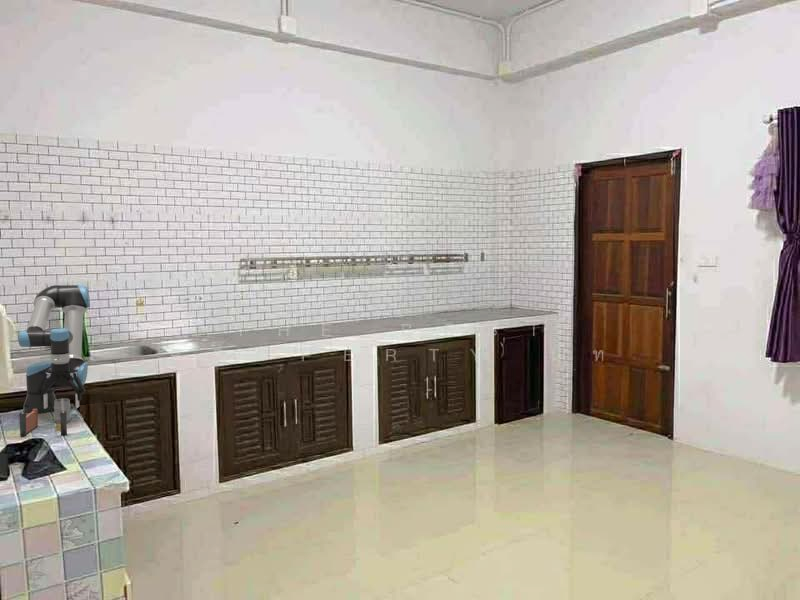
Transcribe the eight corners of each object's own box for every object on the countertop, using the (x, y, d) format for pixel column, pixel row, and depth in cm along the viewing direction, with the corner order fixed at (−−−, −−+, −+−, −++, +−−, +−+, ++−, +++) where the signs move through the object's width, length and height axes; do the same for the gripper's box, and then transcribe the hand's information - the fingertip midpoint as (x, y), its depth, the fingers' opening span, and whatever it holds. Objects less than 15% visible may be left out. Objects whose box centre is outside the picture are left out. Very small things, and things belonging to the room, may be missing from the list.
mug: (71, 417, 310) (70, 392, 309) (72, 424, 300) (72, 398, 299) (53, 419, 306) (52, 394, 305) (53, 426, 296) (53, 400, 295)
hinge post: (21, 435, 282) (20, 411, 281) (28, 435, 282) (27, 411, 281) (18, 437, 279) (17, 412, 278) (25, 436, 280) (24, 412, 279)
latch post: (58, 434, 285) (58, 410, 284) (68, 433, 285) (67, 410, 284) (56, 436, 281) (55, 412, 280) (65, 436, 282) (65, 412, 281)
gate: (26, 433, 282) (26, 416, 282) (22, 434, 282) (22, 416, 281) (37, 425, 295) (37, 408, 295) (34, 425, 295) (33, 408, 294)
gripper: (27, 364, 295) (29, 410, 297) (87, 363, 299) (88, 409, 301) (34, 361, 302) (35, 405, 304) (91, 360, 306) (92, 404, 309)
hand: (61, 407), depth 303 cm, fingers open, 13 cm apart
